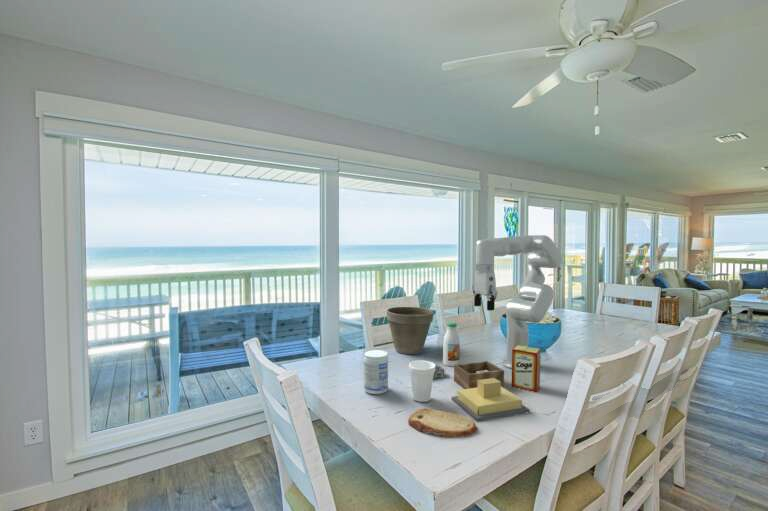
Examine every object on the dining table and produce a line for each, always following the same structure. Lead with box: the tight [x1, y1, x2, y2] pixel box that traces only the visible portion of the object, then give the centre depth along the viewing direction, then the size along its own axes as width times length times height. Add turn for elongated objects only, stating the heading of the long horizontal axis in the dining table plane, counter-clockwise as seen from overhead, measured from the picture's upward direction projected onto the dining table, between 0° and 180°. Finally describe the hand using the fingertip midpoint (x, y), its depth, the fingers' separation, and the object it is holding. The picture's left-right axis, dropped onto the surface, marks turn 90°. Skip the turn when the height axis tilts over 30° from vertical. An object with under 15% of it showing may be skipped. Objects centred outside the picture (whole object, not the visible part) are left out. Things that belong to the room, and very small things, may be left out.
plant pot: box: [386, 306, 434, 355], centre depth 195 cm, size 25×25×22 cm
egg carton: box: [433, 364, 447, 379], centre depth 159 cm, size 11×8×4 cm
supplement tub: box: [363, 349, 389, 395], centre depth 143 cm, size 10×10×15 cm
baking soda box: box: [511, 345, 542, 393], centre depth 147 cm, size 10×6×16 cm
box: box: [453, 360, 505, 389], centre depth 150 cm, size 16×12×7 cm
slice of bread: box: [407, 407, 478, 438], centre depth 117 cm, size 18×18×4 cm
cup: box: [408, 360, 436, 403], centre depth 135 cm, size 10×10×13 cm
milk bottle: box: [442, 321, 461, 367], centre depth 174 cm, size 8×8×20 cm
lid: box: [457, 378, 523, 415], centre depth 130 cm, size 18×14×8 cm
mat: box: [451, 395, 530, 422], centre depth 131 cm, size 21×17×1 cm
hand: (483, 308), depth 156 cm, fingers open, 9 cm apart
